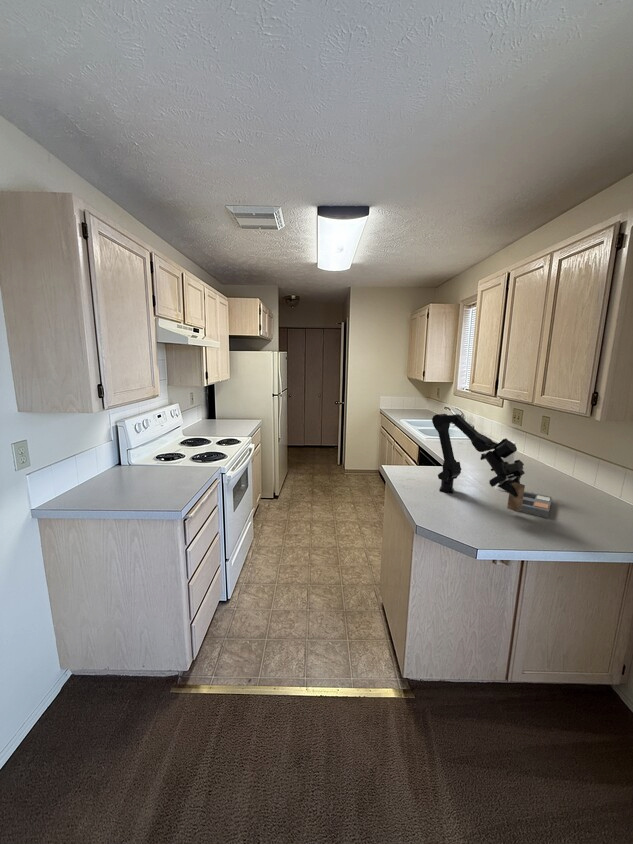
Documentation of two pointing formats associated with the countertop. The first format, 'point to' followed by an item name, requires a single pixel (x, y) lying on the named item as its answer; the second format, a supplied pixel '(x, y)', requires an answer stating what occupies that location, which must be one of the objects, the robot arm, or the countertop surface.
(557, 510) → the countertop surface
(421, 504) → the countertop surface
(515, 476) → the robot arm
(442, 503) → the countertop surface
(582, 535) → the countertop surface
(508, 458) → the cylindrical container
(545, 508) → the socket block
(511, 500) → the brown wooden block
